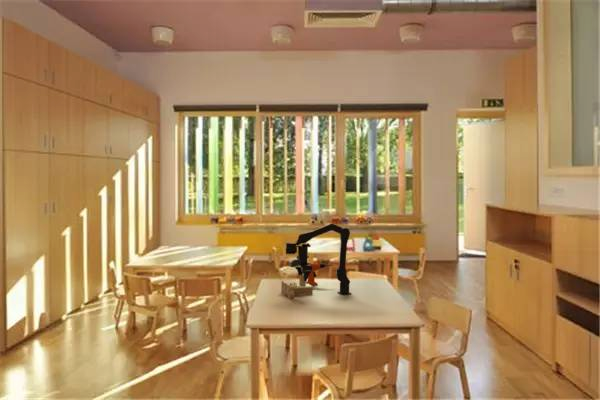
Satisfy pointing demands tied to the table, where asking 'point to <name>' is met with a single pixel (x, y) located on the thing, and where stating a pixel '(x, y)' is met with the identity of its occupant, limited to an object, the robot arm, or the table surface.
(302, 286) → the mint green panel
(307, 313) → the table surface
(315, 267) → the toy drill
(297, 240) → the robot arm
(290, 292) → the tan wooden t-shaped piece
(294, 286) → the tan rectangular block
